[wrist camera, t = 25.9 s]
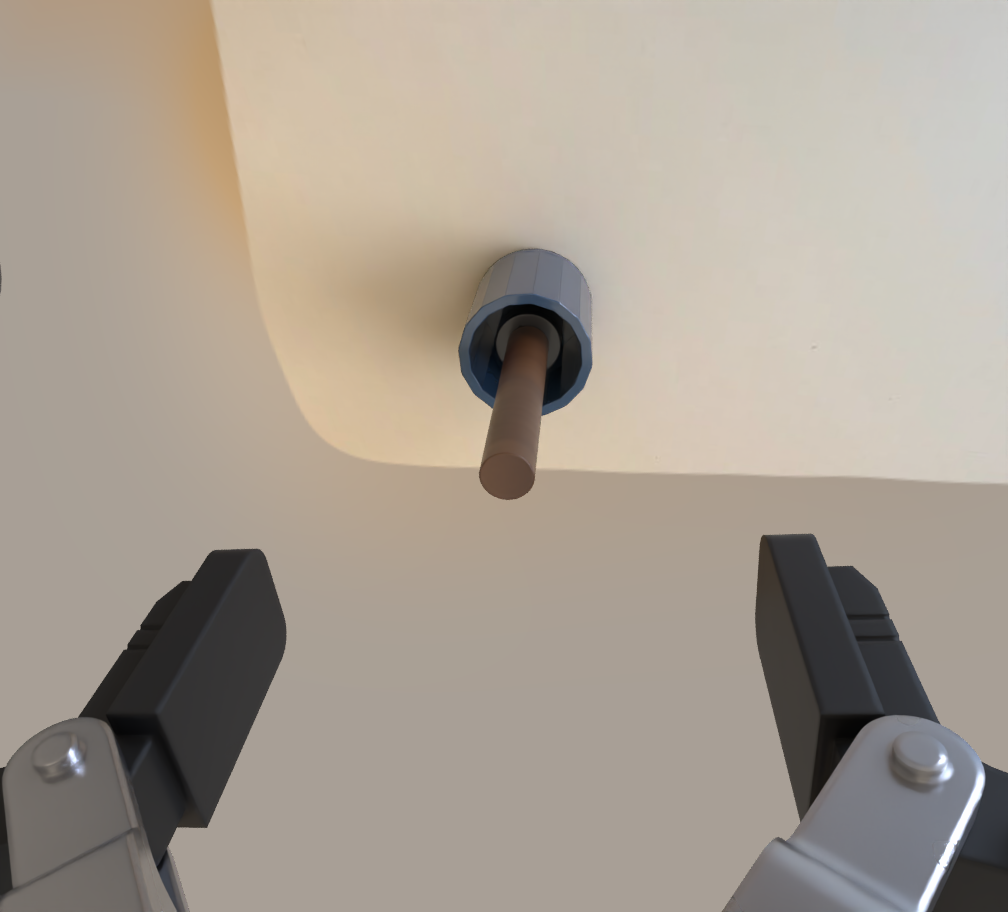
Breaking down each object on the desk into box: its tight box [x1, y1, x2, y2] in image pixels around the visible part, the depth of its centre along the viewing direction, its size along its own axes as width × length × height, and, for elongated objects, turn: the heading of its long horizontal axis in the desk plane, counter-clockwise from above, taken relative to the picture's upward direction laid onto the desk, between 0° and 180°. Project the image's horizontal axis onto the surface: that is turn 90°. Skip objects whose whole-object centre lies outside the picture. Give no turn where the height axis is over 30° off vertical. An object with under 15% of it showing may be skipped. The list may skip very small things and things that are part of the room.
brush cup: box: [458, 249, 592, 416], centre depth 42 cm, size 6×6×7 cm
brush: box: [479, 304, 563, 500], centre depth 37 cm, size 3×3×17 cm
